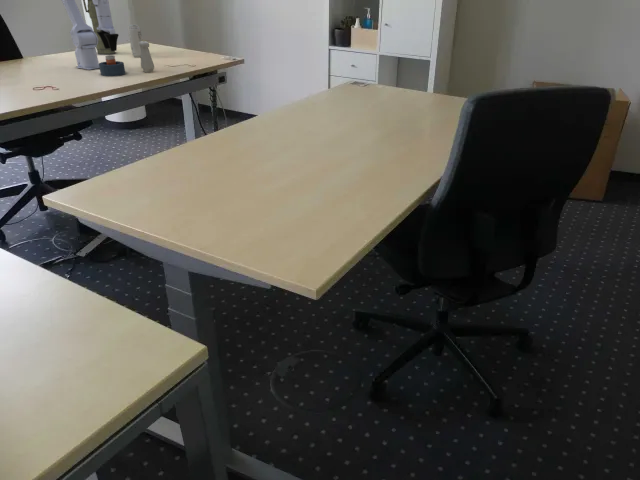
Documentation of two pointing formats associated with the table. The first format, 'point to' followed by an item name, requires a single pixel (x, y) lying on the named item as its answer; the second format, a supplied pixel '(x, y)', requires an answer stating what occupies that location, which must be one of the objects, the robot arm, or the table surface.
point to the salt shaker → (146, 57)
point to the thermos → (94, 19)
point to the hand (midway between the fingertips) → (110, 49)
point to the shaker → (110, 60)
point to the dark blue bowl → (112, 69)
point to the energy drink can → (135, 39)
